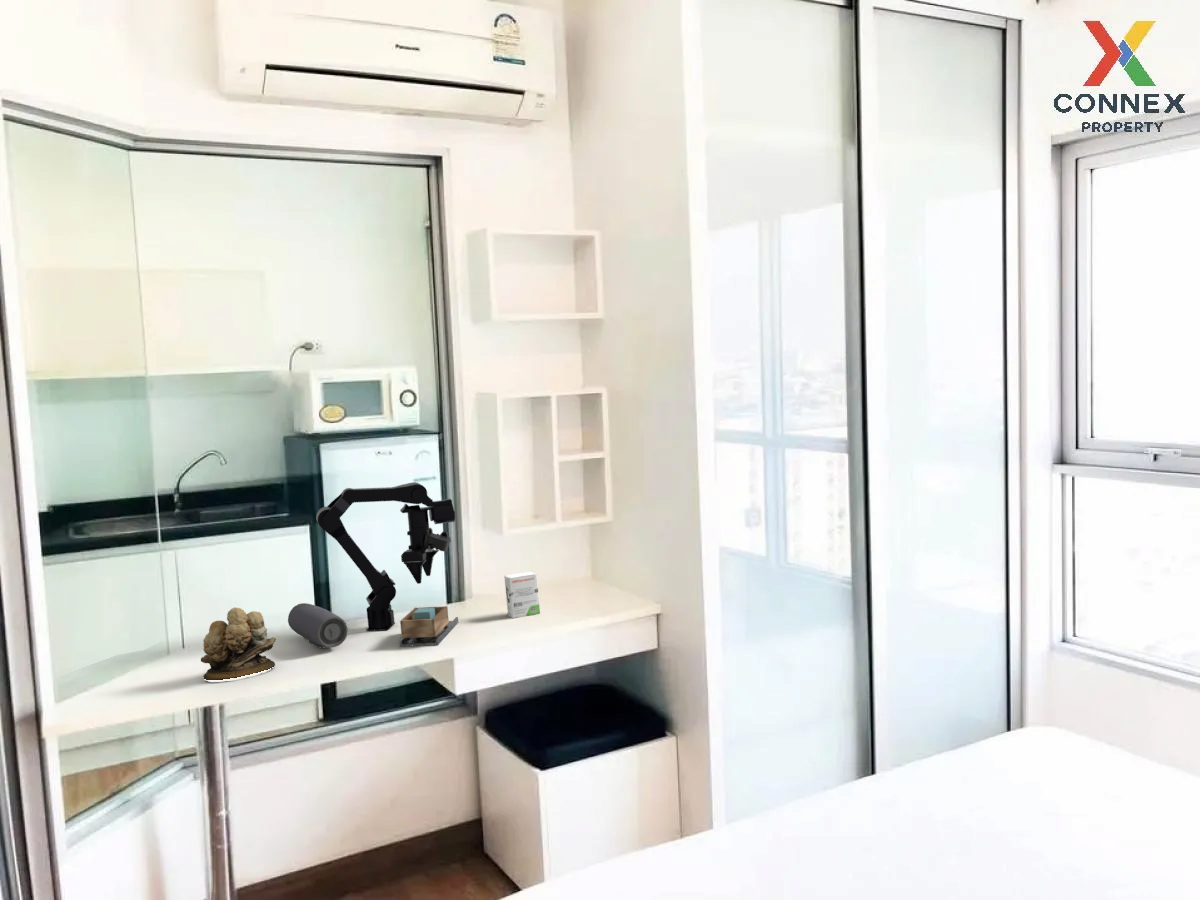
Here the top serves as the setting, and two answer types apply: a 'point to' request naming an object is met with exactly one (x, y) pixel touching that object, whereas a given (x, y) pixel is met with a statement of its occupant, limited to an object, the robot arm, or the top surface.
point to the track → (428, 640)
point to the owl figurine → (237, 646)
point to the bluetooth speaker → (317, 625)
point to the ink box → (522, 594)
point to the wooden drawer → (424, 624)
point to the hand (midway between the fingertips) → (423, 579)
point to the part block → (424, 613)
